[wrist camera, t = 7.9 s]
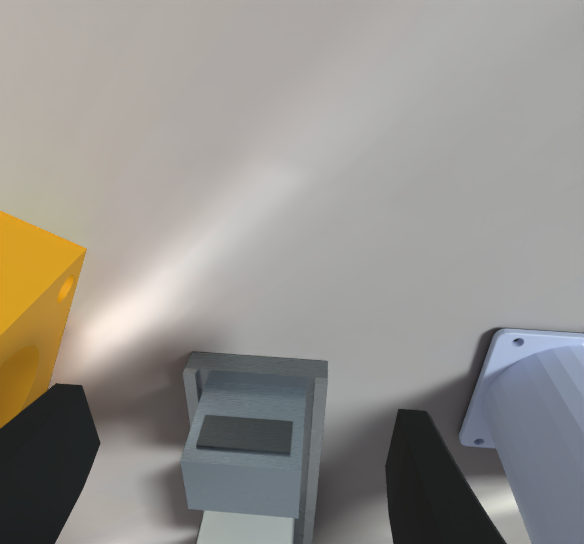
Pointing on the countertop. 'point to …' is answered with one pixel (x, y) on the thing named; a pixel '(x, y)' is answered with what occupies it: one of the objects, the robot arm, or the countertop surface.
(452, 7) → the countertop surface
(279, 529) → the block
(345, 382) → the countertop surface
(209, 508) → the rail
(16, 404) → the yellow stepped block
